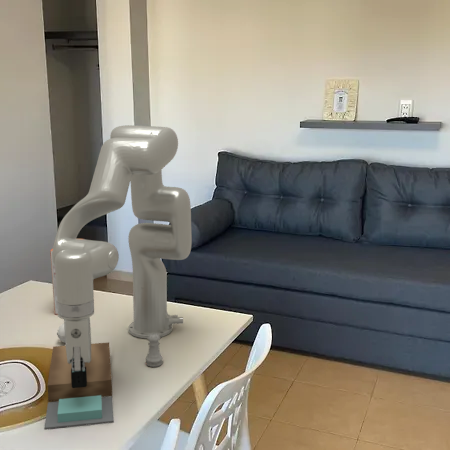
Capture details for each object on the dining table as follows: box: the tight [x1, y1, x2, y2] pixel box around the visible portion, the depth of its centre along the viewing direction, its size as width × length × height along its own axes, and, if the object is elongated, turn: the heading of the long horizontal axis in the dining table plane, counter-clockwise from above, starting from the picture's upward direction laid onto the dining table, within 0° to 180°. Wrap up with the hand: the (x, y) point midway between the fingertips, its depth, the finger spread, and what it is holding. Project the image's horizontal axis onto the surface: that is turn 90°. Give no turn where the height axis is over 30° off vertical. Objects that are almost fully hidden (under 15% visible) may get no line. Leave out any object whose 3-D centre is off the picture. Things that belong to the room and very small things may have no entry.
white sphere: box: [56, 322, 65, 343], centre depth 160 cm, size 8×6×6 cm
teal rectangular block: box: [58, 395, 102, 423], centre depth 126 cm, size 9×6×2 cm, turn 102°
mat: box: [44, 395, 115, 430], centre depth 127 cm, size 14×10×1 cm
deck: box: [46, 341, 113, 403], centre depth 142 cm, size 14×20×4 cm
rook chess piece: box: [144, 333, 164, 368], centre depth 149 cm, size 4×4×8 cm
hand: (79, 385), depth 129 cm, fingers closed
